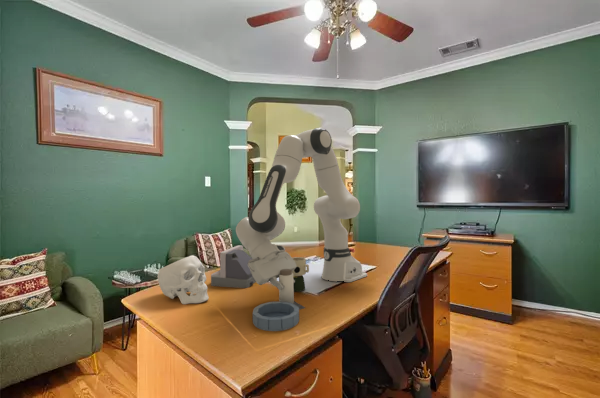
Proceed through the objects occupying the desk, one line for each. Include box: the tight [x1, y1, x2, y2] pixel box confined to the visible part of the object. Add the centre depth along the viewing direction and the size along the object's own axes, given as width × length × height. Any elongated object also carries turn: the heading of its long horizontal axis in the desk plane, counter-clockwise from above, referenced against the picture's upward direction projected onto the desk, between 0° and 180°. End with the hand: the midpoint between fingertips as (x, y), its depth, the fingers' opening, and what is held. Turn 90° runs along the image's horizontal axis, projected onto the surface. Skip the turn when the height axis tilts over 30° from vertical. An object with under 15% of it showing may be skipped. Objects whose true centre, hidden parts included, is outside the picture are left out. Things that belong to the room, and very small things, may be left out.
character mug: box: [292, 256, 310, 292], centre depth 116 cm, size 11×7×13 cm, turn 59°
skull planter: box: [157, 254, 209, 305], centre depth 109 cm, size 14×20×19 cm
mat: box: [293, 300, 306, 311], centre depth 99 cm, size 10×10×1 cm
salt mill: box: [278, 269, 295, 303], centre depth 99 cm, size 5×5×11 cm
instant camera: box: [210, 244, 257, 289], centre depth 131 cm, size 21×21×15 cm
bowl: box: [252, 300, 300, 332], centre depth 87 cm, size 14×14×4 cm
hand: (287, 286), depth 98 cm, fingers closed on salt mill, 5 cm apart
